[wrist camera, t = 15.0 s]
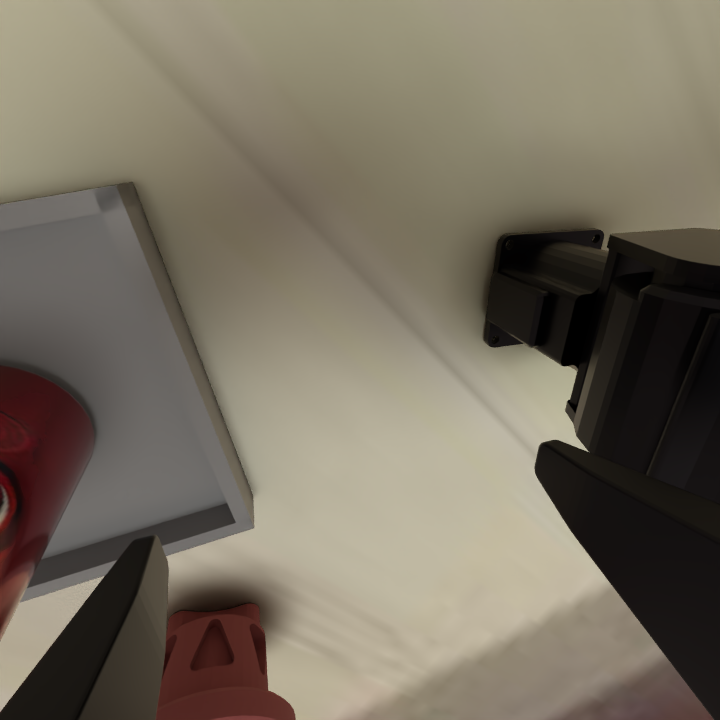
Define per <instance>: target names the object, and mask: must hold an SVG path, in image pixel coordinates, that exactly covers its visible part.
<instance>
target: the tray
mask: <svg viewBox="0 0 720 720" xmlns="http://www.w3.org/2000/svg"><path fill="white" fill-rule="evenodd" d="M0 365H4V366H10V367H16V368H20V369H23V370H26V371H29V372H32V373H35V374H38V375H40V376H42V377H44V378H46V379H48V380H50V381H52V382H54V383H56V384H57V385H59V386H60V387H62V388H63V389H65V390H66V391H67V392H69V393H70V394H71V395H72V396H73V397H74V398H75V399H76V400H77V401H78V402H79V403H80V404H81V405H82V407H83V408H84V410H85V411H86V413H87V414H88V416H89V418H90V421H91V424H92V426H93V429H94V437H95V445H94V450H93V456H92V458H91V460H90V462H89V464H88V466H87V468H86V470H85V472H84V474H83V476H82V478H81V480H80V482H79V484H78V486H77V488H76V490H75V492H74V494H73V496H72V498H71V500H70V502H69V504H68V506H67V508H66V510H65V512H64V514H63V516H62V518H61V520H60V522H59V524H58V526H57V528H56V530H55V532H54V534H53V536H52V538H51V540H50V542H49V544H48V546H47V549H46V551H45V553H44V555H43V557H42V559H41V561H40V563H39V565H38V567H37V569H36V571H35V573H34V575H33V577H32V579H31V581H30V583H29V585H28V587H27V589H26V591H25V593H24V595H23V597H22V599H21V601H20V602H23V601H26V600H29V599H32V598H36V597H39V596H42V595H45V594H48V593H51V592H55V591H58V590H61V589H64V588H67V587H70V586H73V585H77V584H80V583H83V582H86V581H89V580H92V579H95V578H99V577H102V576H105V575H106V574H107V573H108V571H109V570H110V569H111V568H112V566H113V565H114V564H115V562H116V561H117V560H118V558H119V557H120V556H121V555H122V553H123V552H124V551H125V549H126V548H127V547H128V545H129V544H130V543H131V542H132V541H133V540H134V539H136V538H139V537H143V536H148V535H152V534H155V535H157V536H158V537H159V539H160V542H161V545H162V548H163V550H164V553H165V556H168V555H171V554H174V553H177V552H180V551H184V550H187V549H190V548H193V547H196V546H199V545H202V544H206V543H209V542H212V541H215V540H218V539H221V538H224V537H228V536H231V535H234V534H237V533H240V532H243V531H247V530H250V529H253V528H254V506H253V494H252V492H251V489H250V487H249V484H248V481H247V479H246V476H245V474H244V471H243V468H242V466H241V463H240V461H239V458H238V455H237V453H236V450H235V448H234V445H233V442H232V440H231V437H230V435H229V432H228V429H227V427H226V424H225V422H224V419H223V416H222V414H221V411H220V409H219V406H218V403H217V401H216V398H215V396H214V393H213V390H212V388H211V385H210V383H209V380H208V377H207V375H206V372H205V370H204V367H203V364H202V362H201V359H200V357H199V354H198V351H197V349H196V346H195V344H194V341H193V338H192V336H191V333H190V331H189V328H188V325H187V323H186V320H185V318H184V315H183V312H182V310H181V307H180V305H179V302H178V299H177V297H176V294H175V291H174V289H173V286H172V284H171V281H170V278H169V276H168V273H167V271H166V268H165V265H164V263H163V260H162V258H161V255H160V252H159V250H158V247H157V245H156V242H155V239H154V237H153V234H152V232H151V229H150V226H149V224H148V221H147V219H146V216H145V213H144V211H143V208H142V206H141V203H140V200H139V198H138V195H137V193H136V190H135V187H134V185H133V182H129V183H123V184H117V185H111V186H105V187H99V188H93V189H87V190H81V191H75V192H69V193H64V194H58V195H52V196H46V197H40V198H34V199H28V200H22V201H16V202H10V203H4V204H0Z"/></svg>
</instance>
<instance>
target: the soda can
mask: <svg viewBox="0 0 720 720" xmlns="http://www.w3.org/2000/svg"><path fill="white" fill-rule="evenodd" d="M94 445H95V437H94V429H93V426H92V424H91V421H90V418H89V416H88V414H87V413H86V411H85V410H84V408H83V407H82V405H81V404H80V403H79V402H78V401H77V400H76V399H75V398H74V397H73V396H72V395H71V394H70V393H69V392H67V391H66V390H65V389H63V388H62V387H60V386H59V385H57V384H56V383H54V382H52V381H50V380H48V379H46V378H44V377H42V376H40V375H38V374H35V373H32V372H29V371H26V370H23V369H20V368H16V367H10V366H4V365H0V641H1V639H2V637H3V635H4V633H5V631H6V629H7V627H8V625H9V623H10V621H11V619H12V617H13V615H14V613H15V611H16V609H17V607H18V605H19V603H20V601H21V599H22V597H23V595H24V593H25V591H26V589H27V587H28V585H29V583H30V581H31V579H32V577H33V575H34V573H35V571H36V569H37V567H38V565H39V563H40V561H41V559H42V557H43V555H44V553H45V551H46V549H47V546H48V544H49V542H50V540H51V538H52V536H53V534H54V532H55V530H56V528H57V526H58V524H59V522H60V520H61V518H62V516H63V514H64V512H65V510H66V508H67V506H68V504H69V502H70V500H71V498H72V496H73V494H74V492H75V490H76V488H77V486H78V484H79V482H80V480H81V478H82V476H83V474H84V472H85V470H86V468H87V466H88V464H89V462H90V460H91V458H92V456H93V450H94Z"/></svg>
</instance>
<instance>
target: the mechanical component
mask: <svg viewBox="0 0 720 720" xmlns="http://www.w3.org/2000/svg"><path fill="white" fill-rule="evenodd" d="M155 720H296V719H295V713H294V710H293V708H292V707H291V705H290V704H289V703H288V702H287V701H286V700H285V699H283V698H282V697H280V696H279V695H277V694H275V693H273V692H271V691H268V679H267V660H266V641H265V633H264V630H263V628H262V627H261V626H260V618H259V607H258V606H257V605H255V604H252V603H247V604H244V605H241V606H237V607H234V608H230V609H226V610H220V611H212V612H193V611H179V612H177V613H175V614H173V615H172V616H171V617H170V618H169V621H168V627H167V634H166V646H165V658H164V666H163V673H162V679H161V686H160V693H159V699H158V706H157V713H156V719H155Z"/></svg>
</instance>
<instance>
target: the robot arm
mask: <svg viewBox="0 0 720 720" xmlns="http://www.w3.org/2000/svg"><path fill="white" fill-rule="evenodd" d="M594 236H595V238H594V240H593V241H592V239H593V237H594ZM603 239H604V233H603V231H602V230H598V229H578V230H561V231H545V232H528V233H512V234H505V235H503V236H501V237H500V239H499V240H498V244H497V250H496V258H495V265H494V272H493V276H492V278H491V285H490V292H489V299H488V307H487V314H486V318H487V322H486V330H485V337H484V341H485V343H486V344H487V345H489V346H490V347H502V346H509V345H517V344H525V345H527V346H528V347H531V348H535V349H536V350H538V351H540V352H541V353H543V354H544V355H546V356H548V357H549V358H551V359H552V360H554V361H555V362H557V363H559V364H560V365H562V366H570V367H571V368H573V369H575V370H576V371H578V372H577V375H576V379H575V383H574V387H573V391H572V395H571V398H570V400H568V401H567V405H566V409H565V411H566V413H567V414H568V416H569V418H570V419H571V421H572V422H573V424H574V428H575V432H576V436H577V437H578V439H579V440H580V441H581V442H582V444H583V445H584V446H585V448H586V449H587V450H588V451H589V452H590V453H589V452H587V451H584V450H582V449H579V448H577V447H574V446H572V445H569V444H566V443H564V442H561V441H559V440H551V441H547V442H543V443H541V444H540V446H539V449H538V453H537V458H536V463H535V474H536V476H537V478H538V480H539V481H540V483H541V485H542V486H543V488H544V489H545V491H546V493H547V494H548V496H549V497H550V499H551V501H552V502H553V504H554V505H555V507H556V509H557V510H558V512H559V513H560V515H561V517H562V518H563V520H564V521H565V523H566V524H567V526H568V527H569V529H570V530H571V532H572V533H573V535H574V536H575V537H576V539H577V540H578V541H579V543H580V544H581V545H582V547H583V548H584V549H585V551H586V552H587V553H588V554H589V556H590V557H591V558H592V560H593V561H594V562H595V564H596V565H597V566H598V568H599V569H600V570H601V572H602V573H603V574H604V576H605V577H606V578H607V579H608V581H609V582H610V583H611V585H612V586H613V587H614V589H615V590H616V591H617V593H618V594H619V595H620V597H621V598H622V599H623V601H624V602H625V603H626V604H627V606H628V607H629V608H630V610H631V611H632V612H633V614H634V615H635V616H636V618H637V619H638V620H639V622H640V623H641V624H642V626H643V627H644V628H645V629H646V631H647V632H648V633H649V635H650V636H651V637H652V639H653V640H654V641H655V643H656V644H657V645H658V647H659V648H660V649H661V651H662V652H663V653H664V654H665V656H666V657H667V658H668V660H669V661H670V662H671V664H672V665H673V666H674V668H675V669H676V670H677V672H678V673H679V674H680V676H681V677H682V678H683V679H684V681H685V682H686V683H687V685H688V686H689V687H690V689H691V690H692V691H693V693H694V694H695V695H696V697H697V698H698V699H699V701H700V702H701V703H702V704H703V706H704V707H705V708H706V710H707V711H708V712H709V714H710V715H711V716H712V718H713V719H714V720H720V230H714V229H704V228H688V229H674V230H660V231H645V232H631V233H617V234H610V237H609V241H608V245H607V248H609V251H605V250H601V247H602V243H603ZM509 240H510V244H509V246H508V247H507V248H506V243H507V242H508V241H509ZM494 336H496V337H495V339H494V340H493V341H492V338H493V337H494ZM168 576H169V569H168V561H167V558H166V556H165V553H164V550H163V548H162V545H161V542H160V539H159V537H158V536H157V535H155V534H152V535H148V536H143V537H139V538H136V539H134V540H133V541H132V542H131V543H130V544H129V545H128V547H127V548H126V549H125V551H124V552H123V553H122V555H121V556H120V557H119V558H118V560H117V561H116V562H115V564H114V565H113V566H112V568H111V569H110V570H109V571H108V573H107V574H106V575H105V577H104V578H103V579H102V581H101V582H100V583H99V584H98V586H97V587H96V588H95V590H94V591H93V592H92V594H91V595H90V596H89V597H88V599H87V600H86V601H85V603H84V604H83V605H82V607H81V608H80V609H79V610H78V612H77V613H76V614H75V616H74V617H73V618H72V620H71V621H70V622H69V623H68V625H67V626H66V627H65V629H64V630H63V631H62V633H61V634H60V635H59V636H58V638H57V639H56V640H55V642H54V643H53V644H52V646H51V647H50V648H49V649H48V651H47V652H46V653H45V655H44V656H43V657H42V659H41V660H40V661H39V662H38V664H37V665H36V666H35V668H34V669H33V670H32V672H31V673H30V674H29V675H28V677H27V678H26V679H25V681H24V682H23V683H22V685H21V686H20V687H19V688H18V690H17V691H16V692H15V694H14V695H13V696H12V698H11V699H10V700H9V701H8V703H7V704H6V705H5V707H4V708H3V709H2V711H1V712H0V720H155V719H156V713H157V706H158V699H159V693H160V686H161V679H162V673H163V666H164V658H165V646H166V625H167V600H168Z"/></svg>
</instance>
